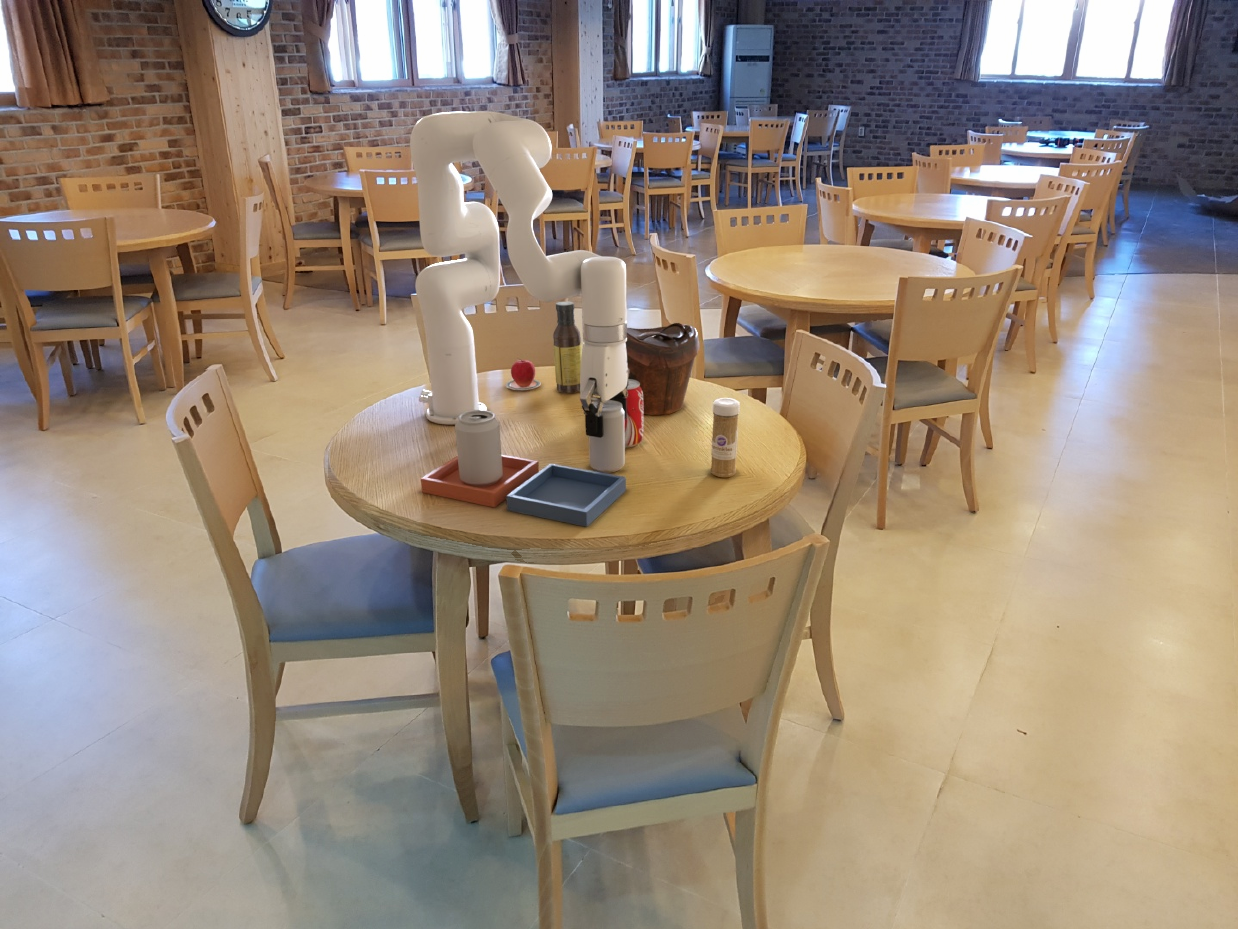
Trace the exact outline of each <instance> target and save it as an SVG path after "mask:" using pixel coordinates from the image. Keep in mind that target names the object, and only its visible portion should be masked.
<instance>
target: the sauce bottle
mask: <svg viewBox="0 0 1238 929" xmlns="http://www.w3.org/2000/svg"><path fill="white" fill-rule="evenodd" d="M575 308H576V306H575V303H574V302H573V301H569V300H567V301H566V300H565V301H557V302H556V303H555V310H556V318H557V320H556V322H557V323H556V324H557V326H556V327H555V329H554V331H553V334H552V336H553V337H552V338H553V345H552V346H553V358H554V373H555V383H556V390H557V392H558V393H561V394H575V393H578V392H580V370H581V356H582V348H583V346H582V337H581V331H580V329H579V328H578V327H577V325H576V323H575V322H576V321H575Z"/></svg>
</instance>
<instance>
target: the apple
mask: <svg viewBox="0 0 1238 929" xmlns="http://www.w3.org/2000/svg"><path fill="white" fill-rule="evenodd" d="M510 368H511V369H510V375H511V378H512V380H509V381H508V382H506V383H505V388H507V389H509V390H512V391H529V390H535V389H537V388H539V387H540V386H541V384H542V383H541V381H539V380H537V379H535V378H536V377H535V376H536V368H535V365H534V363H532V361H531V360H524V359H521V358H519V357H518V358H517V361H515V362H514V363H513V364H512V365H511V367H510Z"/></svg>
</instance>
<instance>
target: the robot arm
mask: <svg viewBox="0 0 1238 929" xmlns="http://www.w3.org/2000/svg"><path fill="white" fill-rule="evenodd" d="M409 151H410V158H411V163H412V166H413V170H414V173H415V178H416V183H417V203H418V217H419V234H420V240H421V241H420V242H421V246H422V247H423V249H424V251H425V252H426V253H427V254H428V255H430V256H432V257H435V258H436V257H437V258H445V257H453V256H458V255H459V256H460V255H464V258H461V259H457V260H455V259H454V260H449V261H444V262H439V263H438V262H437V263H434V264H431V265H429V266H427V267H425V268H423V269H421V271H420V272H419V273H418V275H417V277H416V278H415V284H414V286H415V293H416V297H417V300H418V303H419V307H420V312H421V315H422V319H423V320H422V321H423V325H424V333H425V334H424V335H425V341H426V342H425V343H426V351H427V360H428V370H429V371H428V372H429V380H430V390H427V389H423V390H421V392H420V395H419V397H418V402H419V403H423V404H424V403H425V404H427V405H428V408H427V409H426V411H425V416H426V419H427V420H429V421H430V422H432V423H435V424H438V425H445V426H446V425H449V426H452V425H453V426H455V424H456V423H457V422H458V421H459V420H458V416H459V415H460V414H462V413H464V412H468V411H473V410H486V411H488V408H487V405H486V404H484V403H483V402H480V400H479V387H478V374H477V373H478V372H477V360H476V349H475V338H474V331H473V330H474V329H473V327H472V325H471V324H470V322H469V320H468V319H467V318H466V316H465V314H464V313H463V310H464V309H468V308H473V307H475V306H480V305H484V304H487V303H490V302H492V301H493V300H494V299H495V298H496V297H497V296H498V293H499V290H500V287H501V285H500V284H501V256H500V255H501V251H500V250H501V249H500V248H501V246H500V229H499V224H498V221H497V219H496V216H495V214H494V212H493V211H492V210H491V209H490V208H489V206H487V205H486V204H484V203H482V202H479V201H469V202H465V197H464V184H463V180H462V178H461V175H460V173H459V171H458V170H457V168H456V167H455V165H454V163H463V162H478V164H479V166H480V168H481V169H482V171H483V173H484V175H485V177H486V178H487V180H488V182H489V184H490V185H491V187H492V188H493V190H494V192H495V194H496V196H497V197H498V199H499V201H500V203H501V204H502V206H503V208H504V209H505V212H506V213H507V215H508V222H507V228H506V247H507V255H508V258H509V261H510V264H511V265H512V268H513V269H514V271H515V273H516V274H517V277H518V278H519V280H520V282H521V283H522V285H523V286H524V288H525V289H526V292H528V294H530V295H531V297H533V298H534V299H535V300H537V301H539V302H541V303H554V302H560V301H563V300H566V299H570V298H575V297H581V321H582V323H581V324H582V327H581V328H582V342H583V344H582V356H581V370H580V391H579V395H580V396H579V401H580V404H581V409H582V411H583V415H584V422H585V423H584V424H585V425H584V427H585V436H587V437H589V436H592V437H599V438H601V437H603V435H604V433H603V415H601V411H602V408H603V404H604V402H606V401H608V400H613V401H618V402H620V403H621V404H622V408H623V410H624V414H625V419H626V418H627V398H626V397H627V395H628V392H627V387H628V385H629V384H628V383H629V382H628V377H629V372H630V370H629V369H628V368H627V352H626V343H625V342H626V341H627V328H628V314H627V313H628V309H627V308H628V307H627V306H628V305H627V304H628V302H627V266H626V263H625V261H624V260H623V259H622V258H619V257H615V256H601V255H600V254H597V253H594V252H592V251H590V250H583V249H577V250H572V251H568V252H567V251H565V252H562V253H561V252H560V253H555V254H551V255H546V254H545V253H544V251H543V249H542V247H541V246H540V244H539V242H538V240H537V238H536V236H535V232H534V227H533V226H534V225H533V223H534V220H536V219H537V218H538V217H539V216H540V215H541V214H542V213H544V212H545V210H546V209H548V207H549V205H550V204H551V202H552V199H553V192H552V189H551V187H550V186H549V184H548V183H547V181H546V179H545V176H544V175H543V174H542V172H541V169H542V168H544V167H545V166H546V165H547V164H548V162H549V161H550V159H551V157H552V143H551V139H550V137H549V135H548V132H547V131H546V130H545V128H543V126H542V125H541V124H539V123H538V122H536V121H535V120H533V119H528V118H523V117H520V116H515V115H511V114H507V113H503V112H498V111H485V110H484V111H483V110H481V111H449V112H448V111H447V112H438V113H433V114H432V113H431V114H429V115H426V116H423V117H422V118H421V119H419V120H418V121H417V122H416V123H415V124H414V126H413V129H412V131H411V134H410V140H409ZM624 397H625V398H624ZM593 402H596V403H598V404H597V408H596V407H595V406H594V404H592V403H593Z"/></svg>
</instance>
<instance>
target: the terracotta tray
mask: <svg viewBox="0 0 1238 929" xmlns="http://www.w3.org/2000/svg"><path fill="white" fill-rule="evenodd" d="M502 469H503V476H502V477H501V478H500V479H499V480H498V481H497V482H496V483H495V484H492V485H490V486H485V487H473V486H469V485H467V484H466V483H465V482H463V481H462V480H461V479H460V476H459V465H458V455H456V456H454V457H453V458H452V459H450V460H448V461H447V462H444V463H443V464H442V465H440V466H438V467H437V468H435V469H434V470H432V471H431V472H429V473H427V474H425V475H424V476H423V477H421V478H420V485H421V487H420V488H421V493H424V494H428V495H434V496H438V497H442V498H448V499H452V500H458V501H461V502H462V501H463V502H466V503H470V504H476V505H481V506H486V507H491V508H496V507H497V506H499V505H500V504H501V503H503V502H504V501H505V500H507V498H506V496H507V495H508V494H510V493H511V492H512V491H514V490H515V489H517V488H518V487H519V486H521V485H522V484H523V483H525V482H526V481H527V480H529V479H530V478H531V477H533V476H534V475H535V474H537V473H538V472H540V466H539V461H538V460H534V459H529V458H523V457H519V456H512V455H507V454H502Z"/></svg>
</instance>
